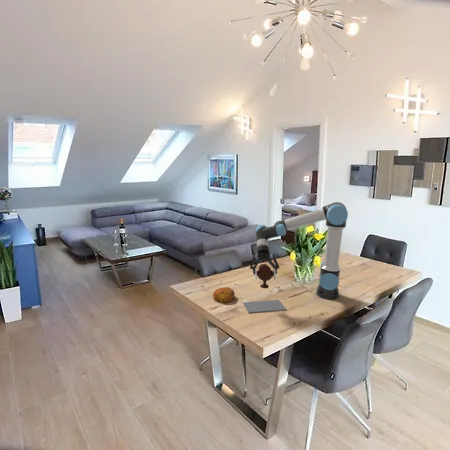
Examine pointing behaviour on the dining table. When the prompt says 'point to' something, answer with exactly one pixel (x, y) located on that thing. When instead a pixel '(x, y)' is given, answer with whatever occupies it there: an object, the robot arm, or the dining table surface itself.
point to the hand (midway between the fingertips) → (265, 279)
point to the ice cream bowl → (264, 274)
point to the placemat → (264, 306)
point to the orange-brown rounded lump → (223, 294)
